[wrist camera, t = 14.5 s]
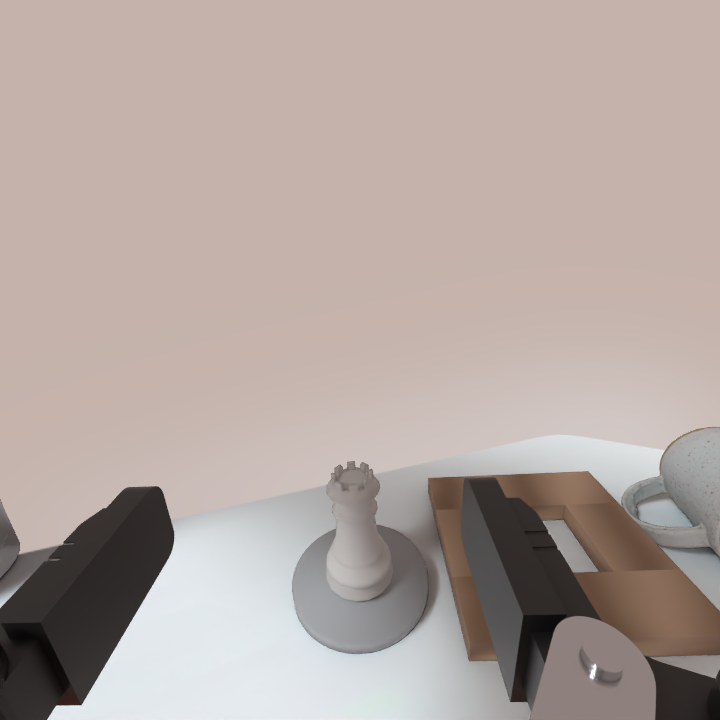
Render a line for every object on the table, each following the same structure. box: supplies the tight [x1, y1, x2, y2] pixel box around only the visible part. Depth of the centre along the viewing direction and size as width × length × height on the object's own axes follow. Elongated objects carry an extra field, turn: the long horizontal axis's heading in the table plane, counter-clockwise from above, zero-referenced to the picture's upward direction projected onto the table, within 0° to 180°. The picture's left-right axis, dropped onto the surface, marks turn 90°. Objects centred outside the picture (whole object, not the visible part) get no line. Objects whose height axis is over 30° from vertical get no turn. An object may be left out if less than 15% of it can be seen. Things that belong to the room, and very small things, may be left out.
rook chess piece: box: [326, 461, 393, 602], centre depth 23 cm, size 4×4×8 cm
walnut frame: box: [428, 471, 720, 661], centre depth 26 cm, size 14×14×1 cm
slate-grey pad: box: [292, 525, 428, 654], centre depth 25 cm, size 9×9×1 cm
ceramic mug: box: [622, 427, 720, 557], centre depth 26 cm, size 11×8×8 cm
